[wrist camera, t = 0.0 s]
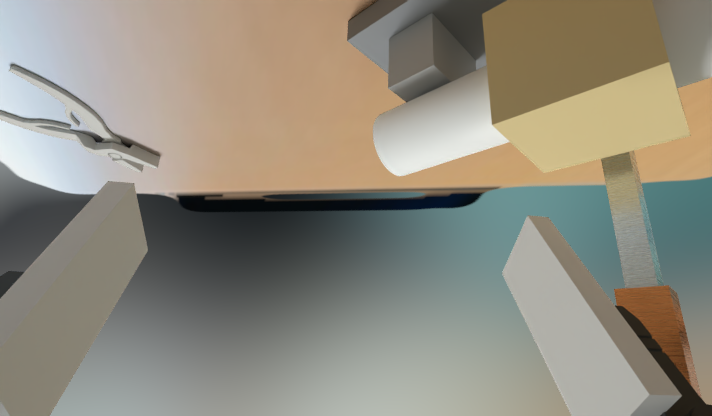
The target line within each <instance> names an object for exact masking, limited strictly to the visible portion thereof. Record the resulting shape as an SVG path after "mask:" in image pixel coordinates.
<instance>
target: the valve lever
mask: <svg viewBox="0 0 712 416" xmlns="http://www.w3.org/2000/svg"><path fill="white" fill-rule="evenodd" d="M601 161H602V166H603V171H604V176H605V182H606V187H607V192H608V198H609V203H610V208H611V213H612V219H613V224H614V229H615V234H616V239H617V244H618V250H619V255H620V261H621V266H622V271H623V276H624V282H625V287H626V288H624V289H614V291H615V297H616V303H617V306H623V307H624V308H625V309H627V310H628V311H629V312H630V313H632V314H633V315H634V316H635V317H636V318H638V319H639V320H640V321H641V322H642V324H643V325H644V326H645V328H646V329H647V330H648V331H649V333H650V334H651V335H652V339H655V340H656V342H657V343H658V344H659V345H660V347H661V348H662V352H665V353H666V354H667V355H668V357H669V358H670V359H671V361H672V362H673V363H674V364H675V366H676V367H677V368H678V369H679V371H680V372H681V373H682V375H683V376H684V377H685V378H686V380H687V381H688V382H689V383H690V385H691V386H692V387H693V389H694V390H695V391H696V392H697V394H698V395H699V396H700V397H701V394H700V390H699V385H698V381H697V377H696V372H695V368H694V364H693V359H692V355H691V351H690V346H689V342H688V338H687V333H686V329H685V325H684V321H683V317H682V312H681V308H680V303H679V299H678V295H677V293H676V292H675V291H674V290H673V289H671V287H670V286H664V284H663V279H662V275H661V270H660V266H659V261H658V257H657V252H656V248H655V244H654V239H653V234H652V230H651V225H650V221H649V216H648V212H647V207H646V203H645V198H644V194H643V189H642V185H641V180H640V176H639V171H638V167H637V162H636V158H635V153H634V150H633V151H629V152H625V153H621V154H617V155H614V156H610V157H606V158H602V159H601Z"/></svg>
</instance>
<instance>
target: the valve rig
mask: <svg viewBox="0 0 712 416" xmlns="http://www.w3.org/2000/svg"><path fill="white" fill-rule="evenodd" d="M347 41H348V42H349V43H351V44H352V45H353V46H354V47H356V48H357V49H358V50H359V51H360V52H362V53H363V54H364V55H365V56H367V57H368V58H369V59H370V60H372V61H373V62H374V63H375V64H377V65H378V66H379V67H380V68H382V69H383V70H384V71H385V72H387V73H388V88H389V89H390V90H391V91H393V92H394V93H395V94H397V95H398V96H399V97H400V98H402V99H403V100H404V101H406V103H404V104H402V105H400V106H398V107H395V108H393V109H391V110H389V111H387V112H385V113H383V114H380V115H379V116H378V117H377V118H376V120H375V122H374V126H373V140H374V145H375V148H376V151H377V154H378V156H379V158H380V160H381V161H382V163H383V164H384V166H385V167H386V168H387V169H388V170H389V171H390V172H391V173H393V174H395V175H397V176H404V175H407V174H410V173H414V172H417V171H420V170H423V169H426V168H429V167H432V166H435V165H439V164H442V163H445V162H448V161H451V160H454V159H457V158H460V157H464V156H467V155H470V154H473V153H476V152H479V151H482V150H485V149H489V148H492V147H495V146H498V145H501V144H504V143H507V142H511V143H512V144H513V145H514V146H515V147H516V148H517V149H518V150H519V151H520V152H522V153H523V154H524V155H525V156H526V157H527V158H528V159H529V160H530V161H531V162H532V163H533V164H535V165H536V166H537V167H538V168H539V169H540V170H541V171H542V172H543V173H547V172H551V171H554V170H558V169H562V168H566V167H570V166H574V165H578V164H582V163H586V162H590V161H594V160H598V159H602V158H606V157H610V156H614V155H617V154H621V153H625V152H629V151H633V150H637V149H641V148H645V147H649V146H653V145H657V144H661V143H665V142H669V141H673V140H677V139H680V138H684V137H688V136H691V135H690V132H689V128H688V125H687V121H686V118H685V114H684V110H683V107H682V103H681V100H680V96H679V93H678V89H677V88H679V87H683V86H686V85H689V84H692V83H695V82H698V81H701V80H704V79H708V78H711V77H712V0H378V1H377V2H375V3H374V4H372V5H371V6H370V7H368V8H367V9H365V10H364V11H362V12H361V13H360V14H358V15H357V16H355V17H354V18H353V19H351V20H350V21H348V36H347Z"/></svg>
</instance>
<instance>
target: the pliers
mask: <svg viewBox="0 0 712 416" xmlns="http://www.w3.org/2000/svg"><path fill="white" fill-rule="evenodd" d="M9 71H10V72H12V73H14V74H16V75H17V76H19V77H21V78H23V79H25V80H26V81H28V82H30V83H32V84H33V85H35V86H37V87H38V88H40V89H42V90H43V91H45V92H47V93H48V94H50V95H51V96H53V97H55V98H56V99H58V100H59V101H61V102H62V103H63V104H65V107H66V110H65V114H66V116H67V118H68V119H69V120H70V121H71V122H72V123H73V124H74V125H75V126H77V127H79V124H80V123H79V122H78V121H77V120H76V119H75V118H74V116H73V115H72V113H71V112H72V111H74V112H76V113H77V114H78V115H79V116H80V117H81V118H82V119H83V121H84V122H85V123H86V125H87V126H88V128H89V129H90V130H91V131H93V132H94V133H96V134H97V135H99V136H101V137H102V138H104V139H103V140H102V141H101V143H96V142H95V140H94V139H93V137H91V136H88V135H86V134H83V133H80V132H77V131H72V130H70V128H71V125H67V124H63V123H59V122H54V121H48V120H29V119H23V118H20V117H17V116H14V115H11V114H8V113H5V112H2V111H0V120H2V121H5V122H7V123H10V124H13V125H16V126H19V127H22V128H25V129H28V130H31V131H35V132H38V133H42V134H45V135H49V136H53V137H57V138H62V139H68V140H74V141H77V142H78V143H80V144H81V145H82V146H83V147H84V148H85V149H86V150H87V151H88V152H90V153H93V154H96V155H99V156H107V157H111V158H112V159H113V161H114V162H116V163H119V164H121V165H123V166H125V167H127V168H129V169H132V170H134V171H136V172H142V170H143V166H144V165H145V166H148V167H151V168H154V169H156V168H158V164H159V160H160V157H159V156H157V155H155V154H152V153H150V152H148V151H146V150H144V149H141V148H139V147H137V146H135V145H132V146H131V147H129V148H127V147H126V145H125V144H123V143H122V142H121V139H120V138H118V137H117V136H115V135H114V134H112V133H111V132H110V131H109V130H108V129H107V128H106V126H105V124H104V122H103V120H102V119H101V118H100V117H99V116H98V115H97V114H96V113H95V112H94V111H93V110H91V109H90V108H89V107H88V106H86V105H85V104H84V103H82V102H81V101H80V100H78V99H77V98H75V97H74V96H72V95H71V94H69V93H68V92H66V91H64V90H63V89H61V88H59V87H58V86H56V85H54V84H52V83H50V82H48V81H47V80H45V79H43V78H41V77H39V76H36V75H34V74H32V73H30V72H28V71H26V70H24V69H21V68H19V67H17V66H15V65H13V66H11V67H10V70H9ZM50 126H54V127H50ZM55 127H59V128H55ZM61 128H63V129H61ZM66 129H68V130H66Z"/></svg>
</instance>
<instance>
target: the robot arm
mask: <svg viewBox="0 0 712 416" xmlns="http://www.w3.org/2000/svg"><path fill="white" fill-rule="evenodd" d="M147 251H148V248H147V243H146V239H145V234H144V229H143V224H142V220H141V215H140V210H139V205H138V201H137V196H136V191H135V186H134V183H125V182H112V181H108V182H107V183H106V184H105V185H104V186H103V187H102V189H101V190H100V191H99V192H98V193H97V194H96V195H95V196H94V197H93V198H92V199H91V200H90V202H89V203H88V204H87V205H86V206H85V207H84V208H83V209H82V210H81V211H80V212H79V214H78V215H77V216H76V217H75V218H74V219H73V220H72V221H71V222H70V223H69V224H68V226H67V227H66V228H65V229H64V230H63V231H62V232H61V233H60V234H59V235H58V236H57V237H56V239H55V240H54V241H53V242H52V243H51V244H50V245H49V246H48V247H47V248H46V249H45V250H44V252H43V253H42V254H41V255H40V256H39V257H38V258H37V259H36V260H35V261H34V263H33V264H32V265H31V266H30V267H29V268H28V269H27V270H26V271H25V272H16V271H8V272H6V273H5V274H3V275H2V276H0V416H50V414H51V413H52V410H53V409H54V407H55V406H56V404H57V402H58V401H59V399H60V397H61V396H62V394H63V392H64V391H65V389H66V387H67V386H68V384H69V382H70V381H71V379H72V377H73V375H74V374H75V372H76V370H77V369H78V367H79V365H80V363H81V362H82V360H83V358H84V357H85V355H86V354H87V352H88V350H89V348H90V347H91V345H92V343H93V342H94V340H95V338H96V337H97V335H98V333H99V331H100V330H101V328H102V326H103V325H104V323H105V322H106V319H107V318H108V316H109V315H110V313H111V311H112V310H113V308H114V306H115V304H116V303H117V301H118V300H119V298H120V296H121V295H122V293H123V291H124V290H125V288H126V286H127V284H128V283H129V281H130V279H131V278H132V276H133V274H134V273H135V271H136V269H137V268H138V266H139V264H140V263H141V261H142V259H143V258H144V256H145V254H146V252H147ZM502 274H503V276H504V278H505V281H506V283H507V285H508V287H509V289H510V291H511V293H512V295H513V297H514V299H515V301H516V303H517V305H518V307H519V309H520V311H521V313H522V315H523V317H524V319H525V321H526V323H527V325H528V327H529V330H530V332H531V334H532V335H533V338H534V340H535V342H536V344H537V346H538V348H539V350H540V352H541V354H542V356H543V358H544V360H545V362H546V364H547V366H548V368H549V370H550V372H551V375H552V376H553V379H554V381H555V383H556V384H557V387H558V389H559V391H560V393H561V395H562V397H563V399H564V401H565V403H566V405H567V407H568V409H569V411H570V413H571V415H572V416H712V405H707V404H705V402H704V401H703V400H702V399H701V397H700V396H699V395H698V394H697V392H696V391H695V390H694V389H693V387H692V386H691V385H690V383H689V382H688V381H687V380H686V378H685V377H684V376H683V375H682V373H681V372H680V371H679V369H678V368H677V367H676V366H675V364H674V363H673V362H672V361H671V359H670V358H669V357H668V355H667V354H666V353H665V352H662V348H661V347H660V345H659V344H658V343H657V342H656V340H655V339H652V335H651V334H650V333H649V331H648V330H647V329H646V328H645V326H644V325H643V324H642V322H641V321H640V320H639V319H638V318H636V317H635V316H634V315H633V314H632V313H630V312H629V311H628V310H627V309H625V308H624V307H623V306H614V304H613V303H612V302H611V300H610V299H609V298H608V296H607V295H606V294H605V292H604V291H603V290H602V289H601V287H600V286H599V284H598V283H597V282H596V280H595V279H594V278H593V276H592V275H591V274H590V272H589V271H588V270H587V268H586V267H585V266H584V264H583V263H582V262H581V260H580V259H579V258H578V256H577V255H576V254H575V252H574V251H573V250H572V248H571V247H570V246H569V244H568V243H567V242H566V241H565V239H564V238H563V237H562V235H561V234H560V233H559V231H558V230H557V228H556V227H555V226H554V224H553V223H552V222H551V220H550V219H549V218H548V217H538V216H527V218H526V221H525V223H524V225H523V227H522V230H521V232H520V234H519V236H518V238H517V241H516V243H515V245H514V248H513V250H512V252H511V254H510V256H509V259H508V261H507V263H506V266H505V268H504V270H503V272H502Z"/></svg>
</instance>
